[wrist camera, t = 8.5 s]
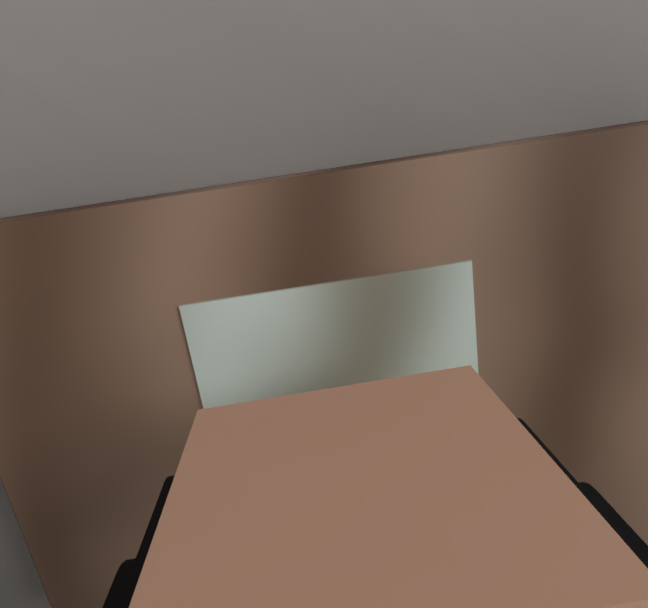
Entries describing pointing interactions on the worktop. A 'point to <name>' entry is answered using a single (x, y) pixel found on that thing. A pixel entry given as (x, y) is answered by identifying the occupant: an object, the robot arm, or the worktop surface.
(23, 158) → the worktop surface
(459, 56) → the worktop surface
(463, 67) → the worktop surface
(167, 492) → the robot arm
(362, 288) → the board
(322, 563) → the terracotta block
